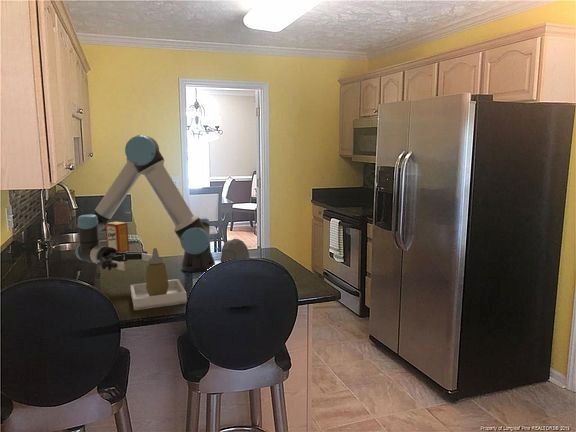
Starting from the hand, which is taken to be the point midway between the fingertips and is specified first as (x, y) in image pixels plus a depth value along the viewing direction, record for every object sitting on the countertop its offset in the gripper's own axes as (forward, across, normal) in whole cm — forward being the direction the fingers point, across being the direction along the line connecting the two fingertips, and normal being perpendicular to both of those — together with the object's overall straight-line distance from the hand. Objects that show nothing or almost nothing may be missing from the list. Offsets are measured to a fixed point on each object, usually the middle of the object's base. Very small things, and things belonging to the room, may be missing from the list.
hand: (139, 262), depth 173 cm
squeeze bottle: (+10, 0, -12) cm, 15 cm away
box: (+10, 0, -12) cm, 16 cm away
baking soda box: (-70, -41, -13) cm, 82 cm away
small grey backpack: (+27, -24, -13) cm, 39 cm away
